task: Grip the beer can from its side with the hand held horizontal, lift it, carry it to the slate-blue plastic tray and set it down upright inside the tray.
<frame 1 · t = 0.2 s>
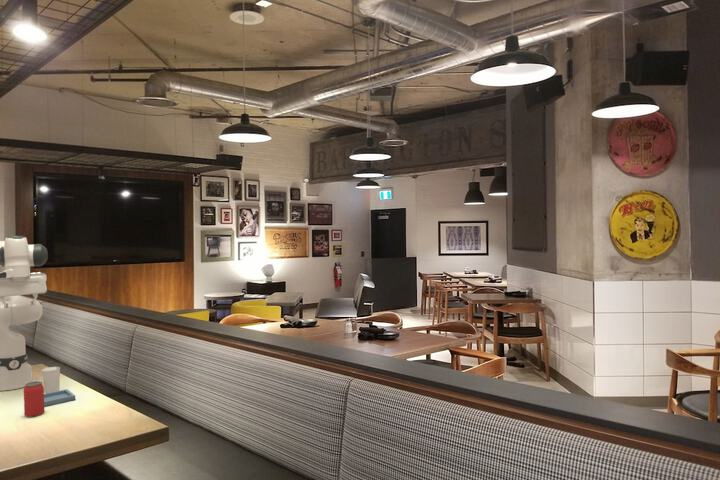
hand: (19, 306, 218), 39 cm above the table, tool pointing down, fingers open, 8 cm apart
white coffee cup: (51, 391, 228), on the table
slate tray: (55, 400, 216), on the table
beer can: (34, 415, 200), on the table
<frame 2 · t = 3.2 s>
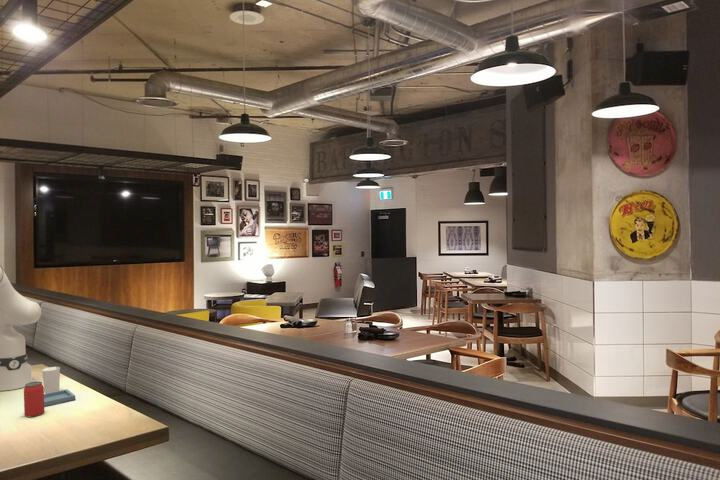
nothing on the table moved.
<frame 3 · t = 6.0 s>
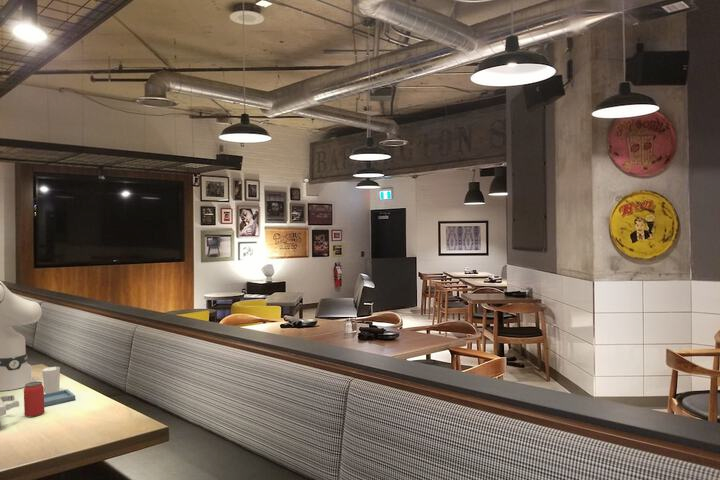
hand: (16, 400, 196), 7 cm above the table, tool horizontal, fingers open, 8 cm apart
nothing on the table moved.
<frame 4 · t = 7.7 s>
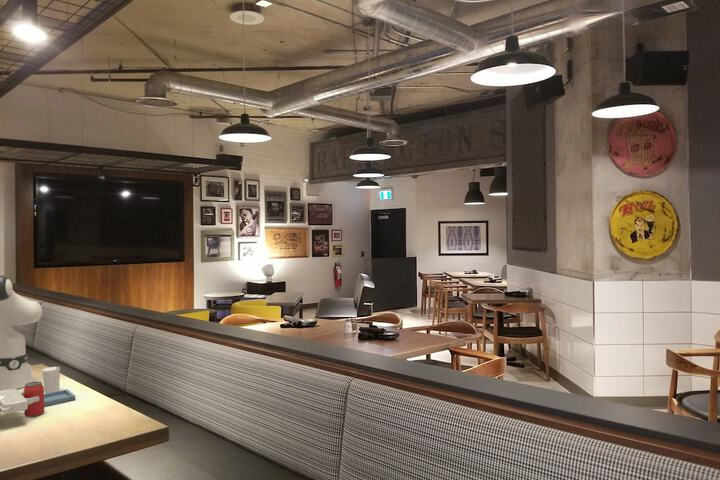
hand: (36, 395, 200), 7 cm above the table, tool horizontal, fingers closed on beer can, 7 cm apart
beer can: (34, 414, 200), on the table, touching gripper
everything else where it was.
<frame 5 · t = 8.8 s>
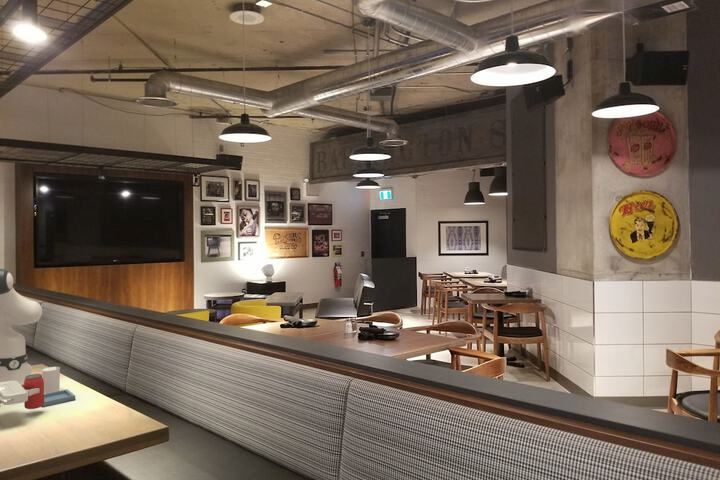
hand: (36, 387, 200), 10 cm above the table, tool horizontal, fingers closed on beer can, 7 cm apart
beer can: (34, 407, 200), point 3 cm above the table, touching gripper
everything else where it was.
when the fingers open (9 cm above the table, at t = 14.0 s): beer can stays where it is, resting on slate tray.
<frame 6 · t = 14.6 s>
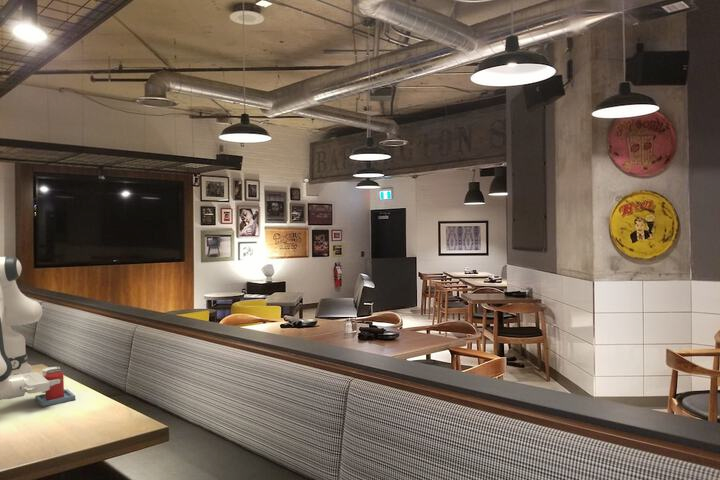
hand: (57, 378, 216), 9 cm above the table, tool horizontal, fingers open, 8 cm apart
beer can: (55, 399, 216), resting on slate tray
everything else where it was.
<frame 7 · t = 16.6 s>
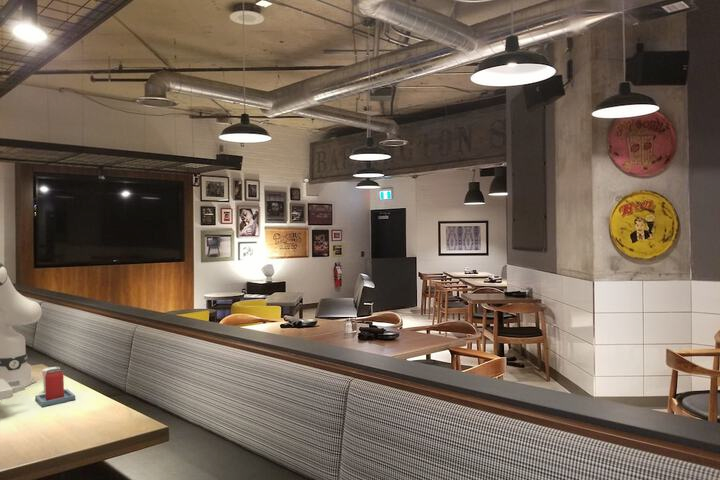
hand: (22, 384, 208), 9 cm above the table, tool horizontal, fingers open, 8 cm apart
nothing on the table moved.
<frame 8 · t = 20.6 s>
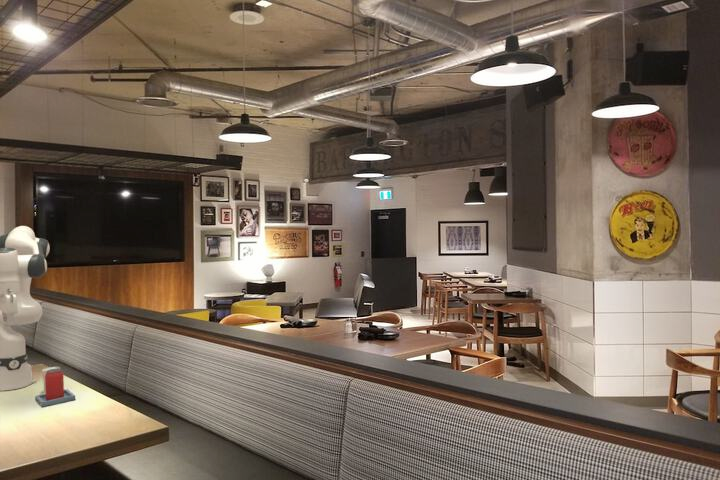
hand: (8, 323, 207), 34 cm above the table, tool pointing down, fingers open, 8 cm apart
nothing on the table moved.
at the end: beer can 0.2 cm off-centre on the slate tray, point 0.4 cm above the slate tray's base; beer can tilted 0°; the gripper is holding nothing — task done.
